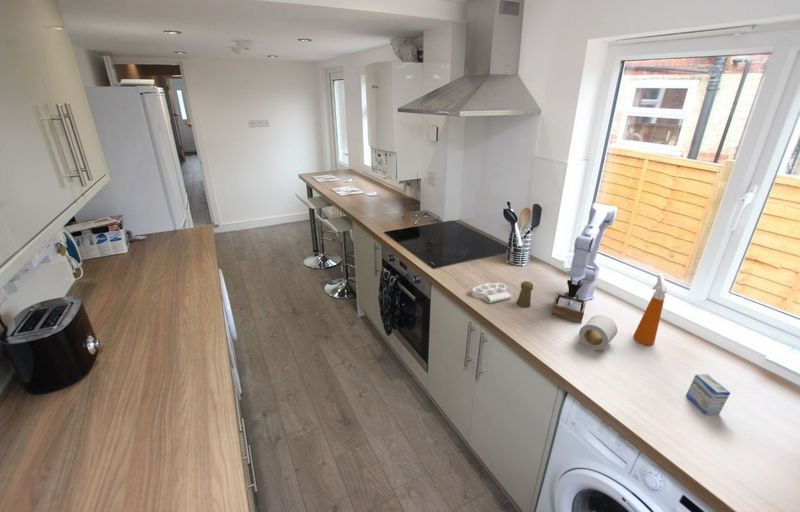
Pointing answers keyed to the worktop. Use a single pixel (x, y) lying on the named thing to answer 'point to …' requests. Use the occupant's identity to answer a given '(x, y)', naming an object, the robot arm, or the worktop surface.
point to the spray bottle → (652, 314)
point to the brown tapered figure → (525, 295)
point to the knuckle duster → (491, 292)
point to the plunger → (570, 302)
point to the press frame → (568, 310)
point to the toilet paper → (598, 332)
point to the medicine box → (707, 394)
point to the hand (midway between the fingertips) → (572, 292)
